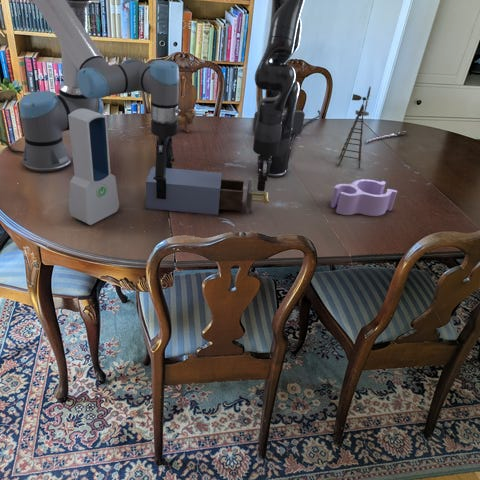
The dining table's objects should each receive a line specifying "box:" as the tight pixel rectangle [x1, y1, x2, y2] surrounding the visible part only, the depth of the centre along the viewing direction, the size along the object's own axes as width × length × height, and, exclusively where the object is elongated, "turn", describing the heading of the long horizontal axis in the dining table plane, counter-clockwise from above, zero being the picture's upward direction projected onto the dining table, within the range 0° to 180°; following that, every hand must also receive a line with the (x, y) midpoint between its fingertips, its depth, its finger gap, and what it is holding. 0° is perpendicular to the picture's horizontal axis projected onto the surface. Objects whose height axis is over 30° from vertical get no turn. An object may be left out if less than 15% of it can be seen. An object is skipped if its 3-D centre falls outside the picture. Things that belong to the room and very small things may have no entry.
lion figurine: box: [177, 108, 197, 133], centre depth 195 cm, size 15×5×9 cm, turn 110°
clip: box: [330, 178, 398, 217], centre depth 152 cm, size 20×12×7 cm, turn 109°
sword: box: [365, 132, 406, 144], centre depth 214 cm, size 31×3×1 cm, turn 126°
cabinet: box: [145, 166, 223, 216], centre depth 143 cm, size 22×11×9 cm, turn 89°
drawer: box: [219, 178, 269, 215], centre depth 143 cm, size 26×10×7 cm, turn 89°
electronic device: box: [68, 109, 120, 226], centre depth 127 cm, size 12×8×30 cm, turn 148°
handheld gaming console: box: [252, 109, 306, 135], centre depth 203 cm, size 23×3×10 cm, turn 108°
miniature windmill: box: [338, 86, 372, 169], centre depth 177 cm, size 9×8×30 cm
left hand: (164, 189), depth 143 cm, fingers closed on cabinet, 11 cm apart
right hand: (260, 190), depth 142 cm, fingers closed
